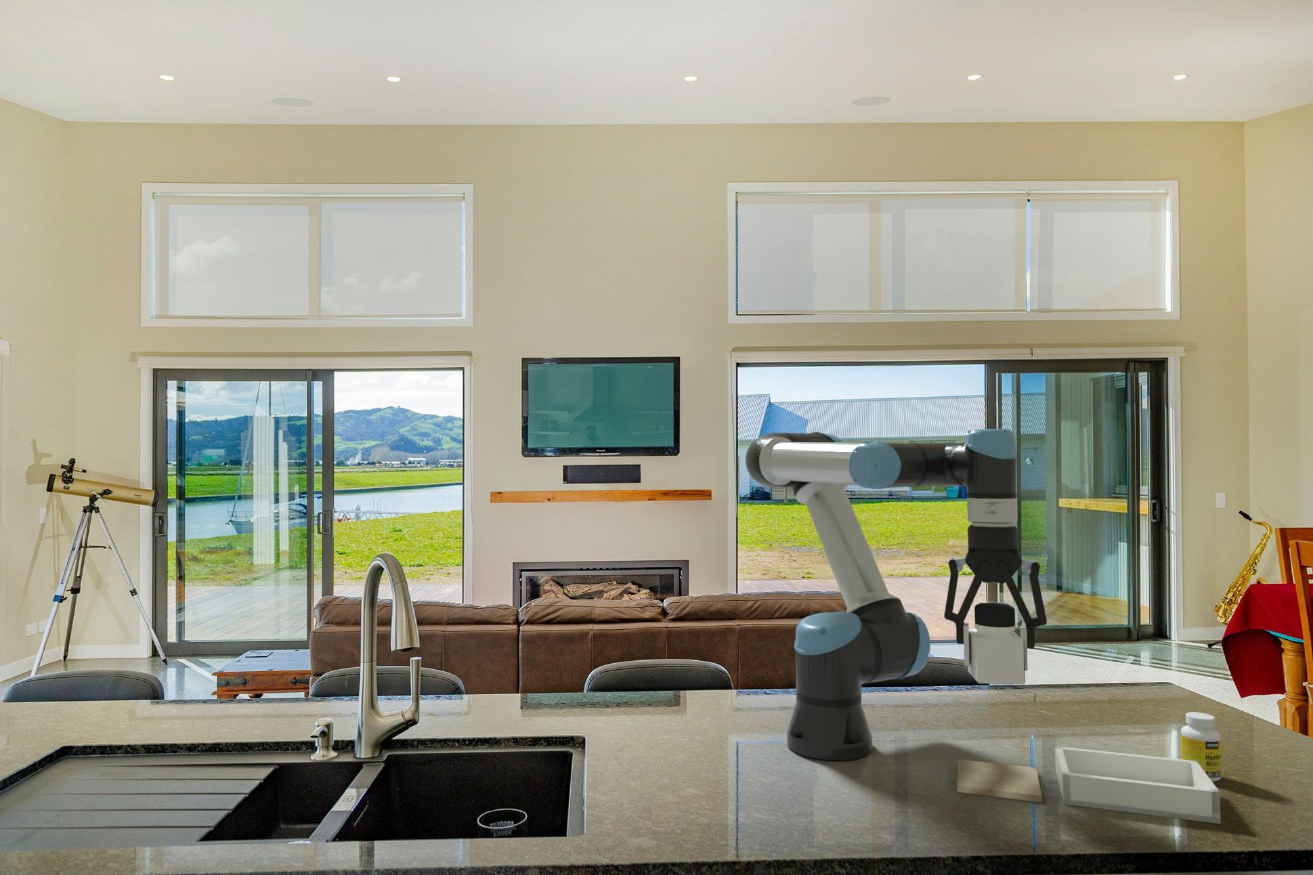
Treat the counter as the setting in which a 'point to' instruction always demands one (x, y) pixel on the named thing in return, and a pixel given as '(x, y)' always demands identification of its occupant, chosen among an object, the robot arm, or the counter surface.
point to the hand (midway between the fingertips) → (995, 666)
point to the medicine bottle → (996, 646)
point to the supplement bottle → (1202, 743)
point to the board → (998, 780)
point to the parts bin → (1136, 784)
